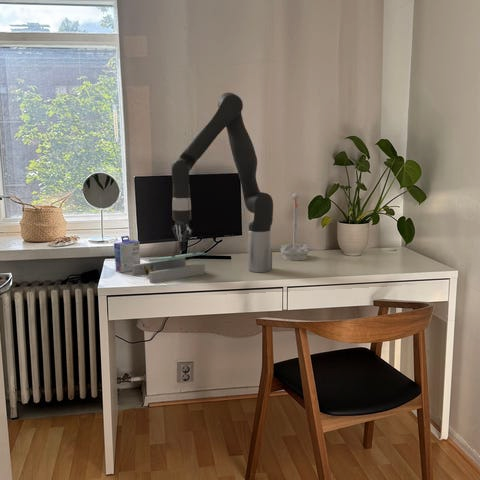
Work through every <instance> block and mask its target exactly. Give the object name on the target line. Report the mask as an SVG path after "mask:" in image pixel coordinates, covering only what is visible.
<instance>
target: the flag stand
mask: <svg viewBox="0 0 480 480" xmlns="http://www.w3.org/2000/svg"><path fill="white" fill-rule="evenodd" d="M299 198H300V195H299V194H298V192H297V193H293V194H292V199H293V229H292V231H293V234H292V235H293V238H292V239H293V241H292V242H293V245H292V246H291V243H287V244H285V243H284V245H280V252H281V254H282V259H284V260H286V261H304V260H306V259H307V257H308V256H307V255H308V254H309V252H310V247H309V245H307V244H303V245H302V246H301V244H300V243H297V238H298V237H297V236H298V235H297V232H298V231H297V228H298V199H299Z"/></svg>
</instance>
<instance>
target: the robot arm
mask: <svg viewBox="0 0 480 480" xmlns="http://www.w3.org/2000/svg"><path fill="white" fill-rule="evenodd" d="M243 104H244V103H243V99H242V98H241V97H240V96H238V95H237V94H235V93H233V92H224V93H222V95H220V97H219V98H218V101H217V109H216V111H215V113H214V114H213V116H212V117H211V118H210V120H208V122H207V123H206V124H205V125H204V126H203V127H202V128H201V129H200V130H199V131H198V132H197V133H196V134H195V135H194V136H193V137H192V139H191V140H190V142H189V143H188V144H187V146H186V147H185V149H184V151H182V153H181V154H180V155H179V156H178V157H177V159H175V160H174V161H173V162H172V165H171V178H172V203H171V204H172V205H171V206H172V209H171V210H172V220H173V221H174V225H173V226H171V230H172V233H173V235H174V238H175V239H176V240H177V241H178V250H179V251H180V252H185V251H186V249H187V247H186V242H188V241H190V239H191V236H192V235H193V228H192V229H190V224H189V222H190V221H191V220H192V202H191V201H192V200H191V187H190V171H191V170H192V169H193V168H194V167H195V164H196V163H197V161H198V160H199V159H200V158H202V157H203V155H204V154H205V152H206V151H207V150H208V148H209V147H210V146H211V145H212V144H213V142H214V141H215V139H216V138H217V137H218V136H219V134H220V133H221V132H222V131H223V130H224V129H225V128H226V131H227V137H228V141H229V145H230V150H231V153H232V158H233V161H234V165H235V167H236V170H237V175H238V178H239V181H240V185H241V190H242V195H243V201H244V204H245V205H244V206H245V207H246V209H247V211H248V212H249V213H253V220H252V221H251V222H249V224H248V271H249V272H253V273H266V272H269V271H271V270H273V247H272V246H271V229H272V228H271V227H272V224H273V218H274V217H273V216H274V201H273V198H272V196H271V195H270V194H269V193H267V192H261V190H260V188H259V185H258V181H257V170H258V158H257V153H256V151H255V146H254V144H253V141H252V139H251V136H250V135H249V132H248V130H247V128H246V126H245V123H244V119H243V115H242V111H243V109H244V105H243Z"/></svg>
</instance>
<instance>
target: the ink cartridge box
mask: <svg viewBox="0 0 480 480" xmlns="http://www.w3.org/2000/svg"><path fill="white" fill-rule="evenodd" d="M120 238H121V241H118V242H114V243H113V248H114V260H115V261H114V262H115V271H116V272H118V271H119V273H127V272H132V265H136V264H141V251H140V249H141V247H140V240H136V239H130V237H129V235H124V236H120ZM125 238H126V239H125Z"/></svg>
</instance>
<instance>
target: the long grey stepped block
mask: <svg viewBox="0 0 480 480" xmlns="http://www.w3.org/2000/svg"><path fill="white" fill-rule="evenodd" d="M151 264H153V266H154V268H155V271H153V272H150V278H149V282H150V283H151V284H153V283H159V282H164V281H169V280H175V279H179V278H180V279H181V278H185V277H190V276H191V277H192V276H197V275H203V274H206V272H205V271H206V264H205V263H196V264H190V265H186V257H184V258H177V259H171V260H161V261H148V262H142V263H140V264H136V265H132V270H131V276H132V275H133V276H137V275H143V274H146V273H145V271H143V270H141V269H140V267H141V268H142V269H144V266H145V267H146V270H147V268H149V269H150V268H151ZM148 273H149V272H148Z"/></svg>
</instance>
